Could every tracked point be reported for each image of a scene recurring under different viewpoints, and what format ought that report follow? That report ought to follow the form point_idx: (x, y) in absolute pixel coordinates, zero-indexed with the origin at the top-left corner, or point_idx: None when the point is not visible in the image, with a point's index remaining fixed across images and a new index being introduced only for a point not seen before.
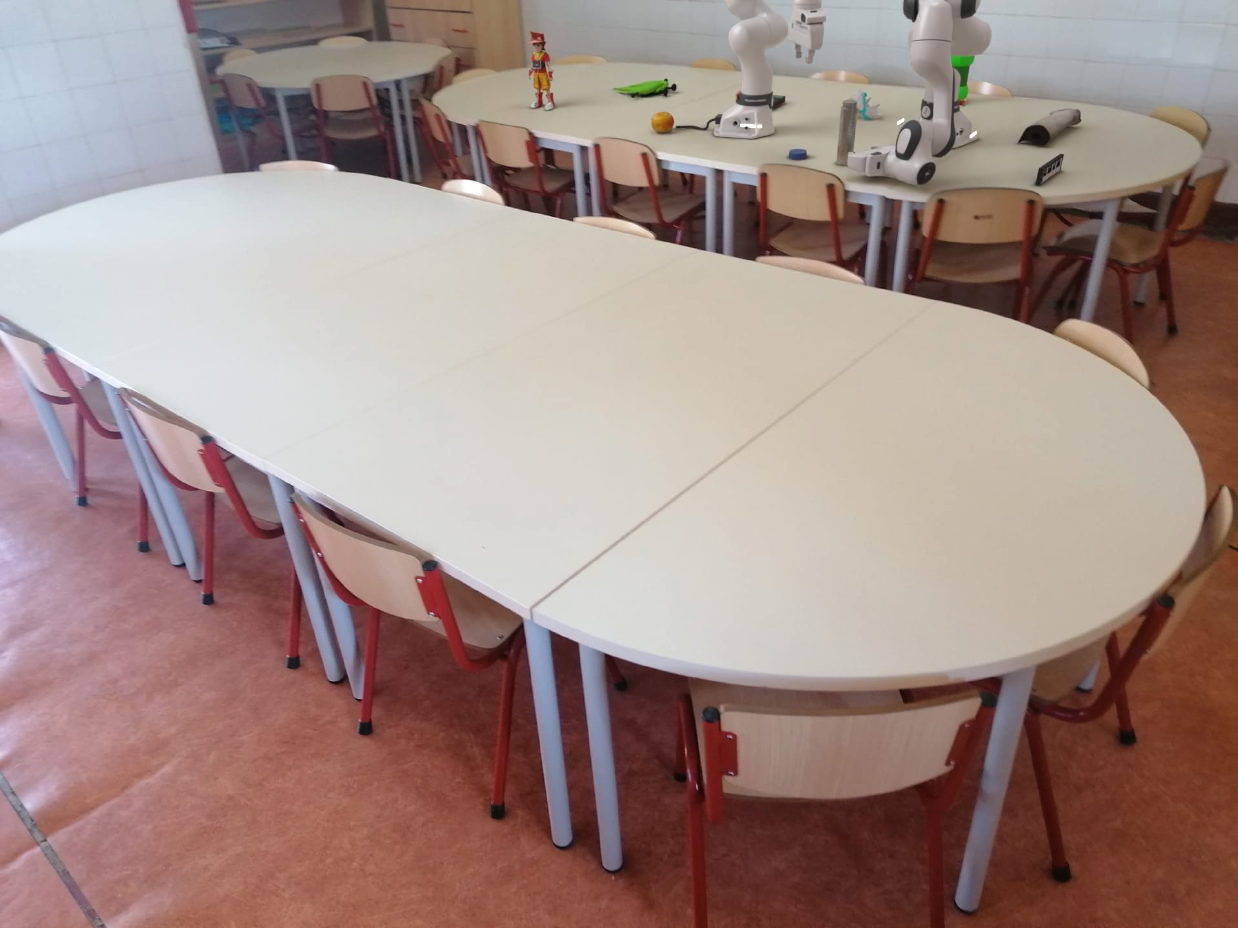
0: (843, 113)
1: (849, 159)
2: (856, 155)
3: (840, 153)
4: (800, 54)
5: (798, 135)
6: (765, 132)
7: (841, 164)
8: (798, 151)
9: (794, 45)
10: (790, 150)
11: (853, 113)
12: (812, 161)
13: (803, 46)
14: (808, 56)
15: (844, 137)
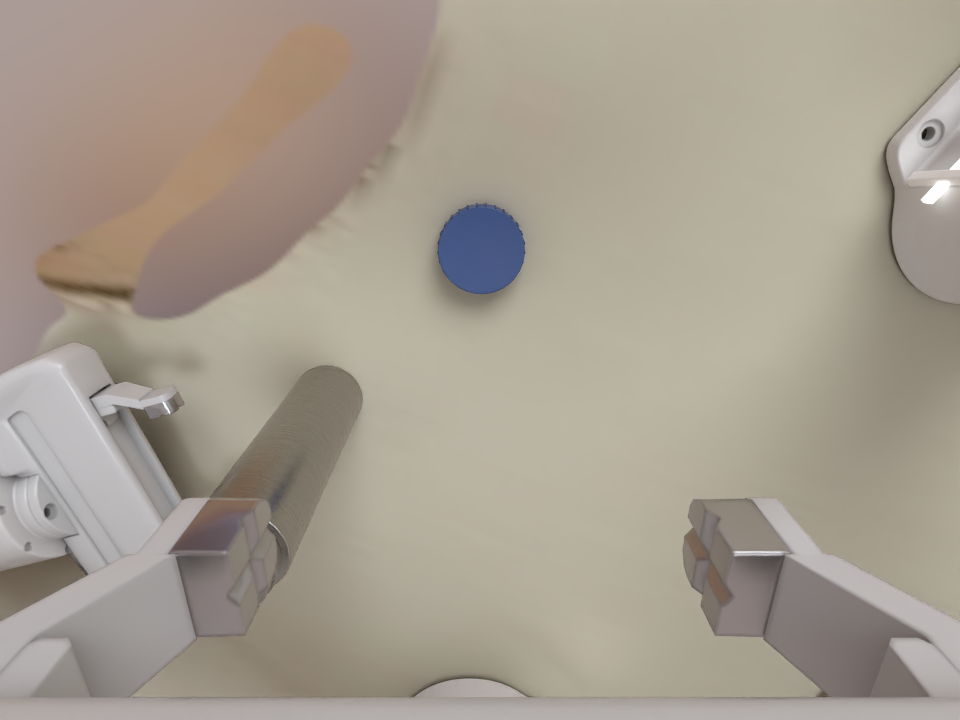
0: (220, 494)
1: (45, 355)
2: (1, 384)
3: (295, 390)
4: (707, 590)
5: (811, 378)
6: (908, 229)
7: (302, 376)
8: (475, 252)
9: (955, 651)
10: (508, 221)
11: None
12: (399, 287)
13: (132, 709)
14: (91, 584)
15: (258, 433)
